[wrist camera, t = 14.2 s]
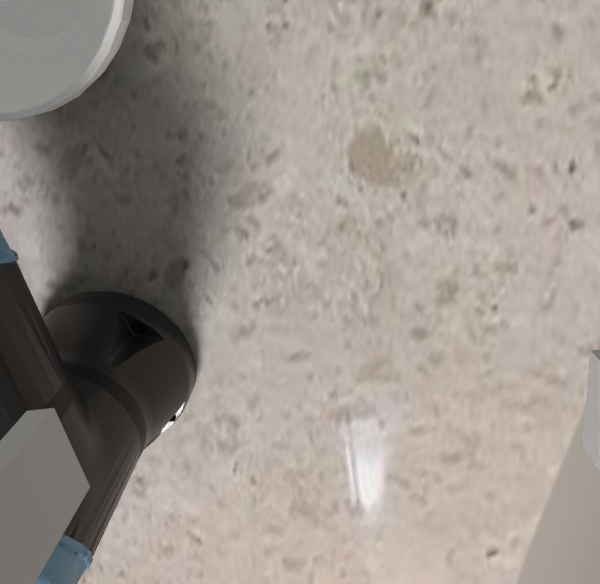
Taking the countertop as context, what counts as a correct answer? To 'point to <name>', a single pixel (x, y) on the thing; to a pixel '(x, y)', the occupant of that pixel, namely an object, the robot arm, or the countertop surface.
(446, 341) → the countertop surface
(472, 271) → the countertop surface
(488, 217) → the countertop surface
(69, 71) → the bowl
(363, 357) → the countertop surface
